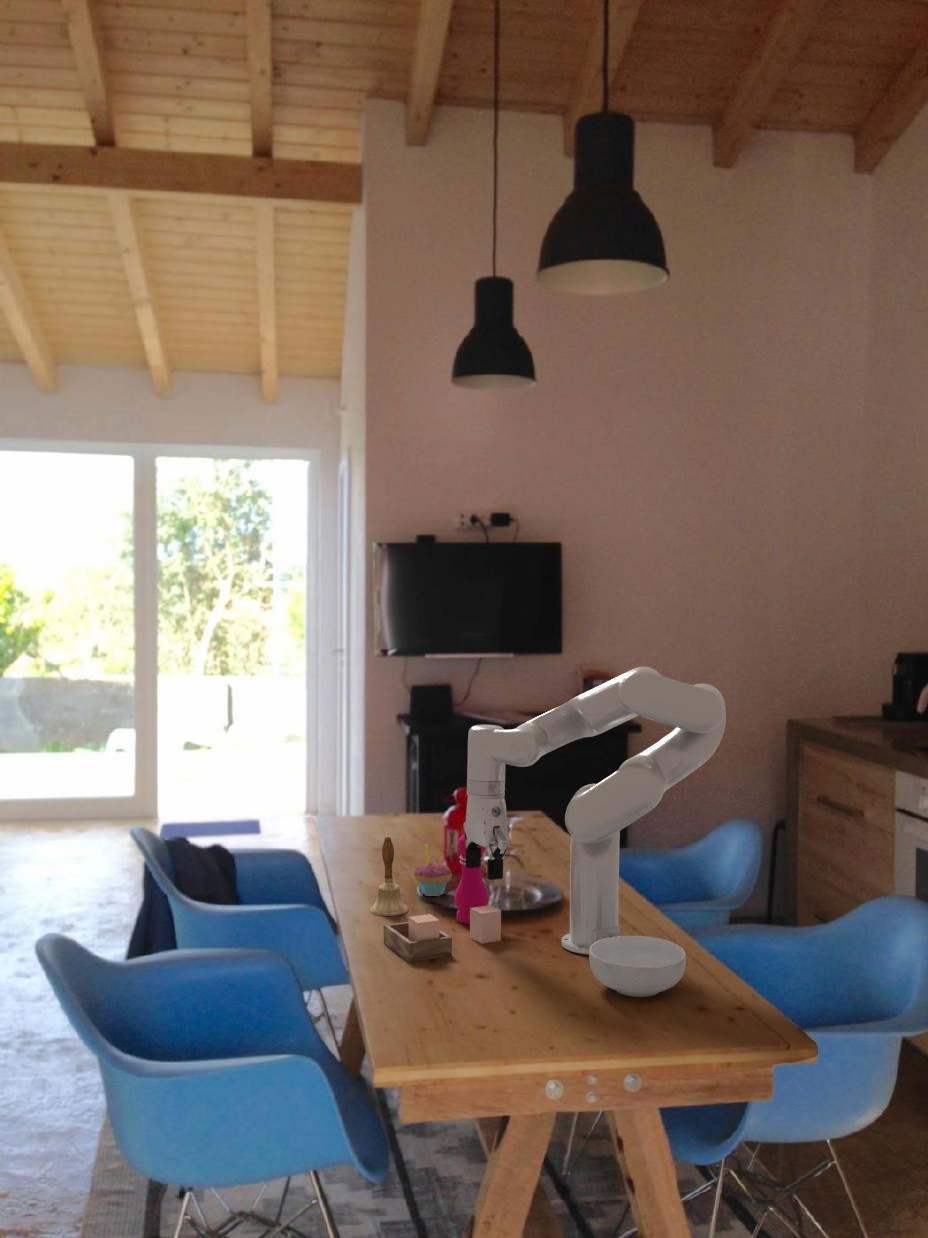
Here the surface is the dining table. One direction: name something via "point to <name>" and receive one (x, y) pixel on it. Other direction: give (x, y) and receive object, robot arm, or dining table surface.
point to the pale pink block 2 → (485, 924)
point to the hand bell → (388, 887)
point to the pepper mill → (469, 886)
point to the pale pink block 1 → (423, 927)
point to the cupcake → (432, 876)
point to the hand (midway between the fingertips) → (483, 873)
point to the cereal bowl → (637, 964)
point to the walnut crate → (416, 943)
